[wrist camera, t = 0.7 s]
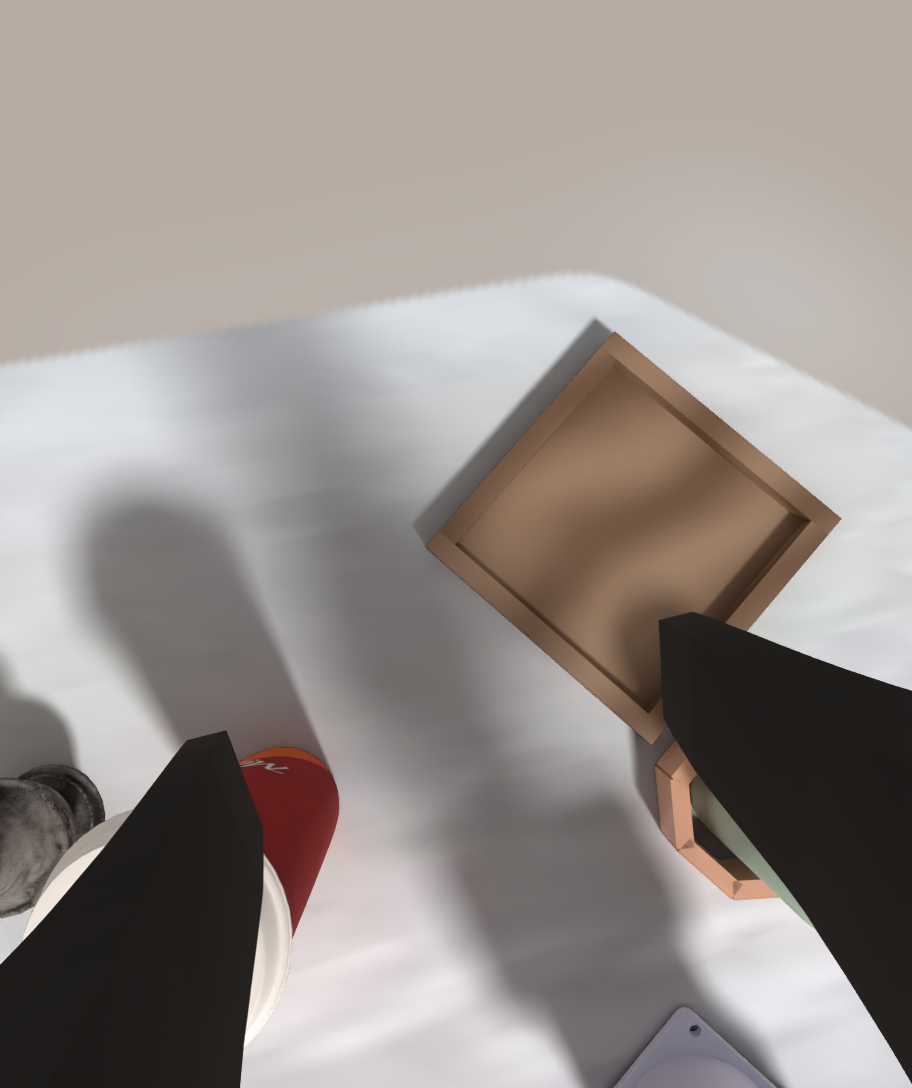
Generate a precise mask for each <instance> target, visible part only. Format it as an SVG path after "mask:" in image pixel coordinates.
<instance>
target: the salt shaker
mask: <svg viewBox="0 0 912 1088" xmlns="http://www.w3.org/2000/svg"><path fill="white" fill-rule="evenodd" d="M104 821H105V811H104V806H103V801H102V798H101V796H100V794H99V792H98V790H97V788H96V787H95V786H94V784H93V783H92V782H91V781H90V780H89V779H88V777H86V776H85V775H83V774H82V773H80V772H79V771H77V770H76V769H73V768H69V767H66V766H63V765H46V766H42V767H38V768H34V769H32V770H30V771H28V772H27V773H25V774H23V775H21V776H20V777H19V778H18V779H16V778H0V918H6V917H10V916H14V915H18V914H21V913H23V912H25V911H27V910H28V909H30V908H32V907H34V906H35V905H36V903H37V901H38V899H39V897H40V895H41V893H42V890H43V888H44V886H45V884H46V882H47V880H48V878H49V876H50V874H51V873H52V871H53V869H54V868H55V866H56V865H57V864H58V862H59V861H60V860H61V858H62V857H63V855H64V854H65V853H66V852H67V851H68V850H69V849H70V848H71V847H72V846H73V845H74V844H75V843H76V842H77V841H78V840H79V839H80V838H81V837H82V836H83V835H85V834H86V833H88V832H89V831H90V830H92V829H93V828H94V827H96V826H97V825H99V824H101V823H102V822H104Z"/></svg>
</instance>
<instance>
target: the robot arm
mask: <svg viewBox="0 0 912 1088" xmlns="http://www.w3.org/2000/svg"><path fill="white" fill-rule="evenodd" d="M659 641H660V661H661V682H662V702H663V718H664V720H665V722H666V724H667V725H668V727H669V729H670V731H671V732H672V734H673V736H674V738H675V739H676V741H677V743H678V745H679V746H680V748H681V749H682V751H683V753H684V754H685V756H686V758H687V759H688V761H689V762H690V764H691V766H692V767H693V769H694V770H695V772H696V773H697V774H698V775H699V777H700V778H701V779H702V781H703V782H704V783H705V785H706V786H707V787H708V788H709V790H710V791H711V792H712V794H713V795H714V796H715V797H716V799H717V800H718V801H719V803H720V804H721V805H722V806H723V808H724V809H725V810H726V812H727V813H728V814H729V815H730V817H731V818H732V819H733V820H734V822H735V823H736V824H737V825H738V827H739V828H740V829H741V830H742V832H743V833H744V834H745V835H746V837H747V838H748V839H749V840H750V842H751V843H752V844H753V846H754V847H755V848H756V849H757V851H758V852H759V853H760V854H761V856H762V857H763V858H764V859H765V861H766V862H767V863H768V864H769V866H770V867H771V868H772V870H773V871H774V872H775V873H776V875H777V876H778V877H779V878H780V880H781V881H782V882H783V883H784V885H785V886H786V888H787V889H788V890H789V892H790V893H791V894H792V896H793V897H794V898H795V900H796V901H797V903H798V904H799V905H800V907H801V908H802V909H803V911H804V912H805V914H806V915H807V917H808V918H809V920H810V921H811V923H812V924H813V926H814V928H815V929H816V931H817V932H818V934H819V935H820V937H821V938H822V940H823V941H824V943H825V944H826V946H827V947H828V949H829V951H830V952H831V954H832V955H833V957H834V958H835V960H836V961H837V963H838V964H839V966H840V967H841V969H842V971H843V972H844V974H845V975H846V977H847V978H848V980H849V982H850V983H851V985H852V986H853V988H854V990H855V991H856V993H857V994H858V996H859V998H860V999H861V1001H862V1002H863V1004H864V1006H865V1007H866V1009H867V1011H868V1012H869V1014H870V1015H871V1017H872V1019H873V1020H874V1022H875V1023H876V1025H877V1027H878V1028H879V1030H880V1031H881V1033H882V1035H883V1036H884V1038H885V1039H886V1041H887V1043H888V1044H889V1046H890V1048H891V1049H892V1051H893V1053H894V1054H895V1056H896V1058H897V1059H898V1061H899V1063H900V1064H901V1066H902V1068H903V1070H904V1071H905V1073H906V1075H907V1076H908V1078H909V1080H910V1081H911V1083H912V691H911V690H908V689H905V688H901V687H898V686H895V685H891V684H888V683H885V682H882V681H879V680H876V679H873V678H870V677H867V676H864V675H861V674H858V673H855V672H852V671H849V670H846V669H844V668H841V667H838V666H835V665H832V664H830V663H827V662H824V661H821V660H819V659H816V658H813V657H811V656H808V655H805V654H803V653H800V652H797V651H795V650H792V649H790V648H787V647H785V646H782V645H779V644H777V643H774V642H772V641H769V640H767V639H764V638H762V637H759V636H757V635H754V634H752V633H749V632H747V631H744V630H742V629H739V628H737V627H734V626H731V625H729V624H726V623H724V622H721V621H719V620H716V619H713V618H710V617H708V616H705V615H702V614H699V613H695V612H689V613H685V614H681V615H677V616H673V617H669V618H665V619H661V620H659ZM263 879H264V837H263V825H262V822H261V820H260V817H259V815H258V812H257V809H256V807H255V804H254V801H253V799H252V796H251V794H250V791H249V788H248V786H247V783H246V781H245V778H244V775H243V773H242V770H241V767H240V765H239V762H238V760H237V757H236V754H235V752H234V749H233V747H232V744H231V741H230V739H229V736H228V733H227V731H222V732H218V733H214V734H210V735H206V736H203V737H199V738H195V739H191V740H187V741H186V742H185V743H184V745H183V746H182V747H181V748H180V749H179V751H178V752H177V753H176V754H175V756H174V757H173V758H172V760H171V761H170V762H169V764H168V765H167V766H166V768H165V769H164V770H163V772H162V773H161V774H160V775H159V777H158V778H157V779H156V781H155V782H154V783H153V785H152V786H151V787H150V789H149V790H148V791H147V793H146V794H145V795H144V797H143V798H142V799H141V801H140V802H139V803H138V805H137V806H136V807H135V808H134V810H133V811H132V812H131V814H130V815H129V816H128V817H127V819H126V820H125V821H124V823H123V824H122V825H121V826H120V828H119V829H118V830H117V832H116V833H115V834H114V835H113V837H112V838H111V839H110V841H109V842H108V843H107V844H106V846H105V847H104V848H103V849H102V850H101V852H100V853H99V854H98V855H97V856H96V858H95V859H94V860H93V861H92V862H91V864H90V865H89V866H88V867H87V868H86V869H85V871H84V872H83V873H82V874H81V875H80V877H79V878H78V879H77V880H76V881H75V882H74V884H73V885H72V886H71V887H70V888H69V890H68V891H67V892H66V893H65V894H64V895H63V897H62V898H61V899H60V900H59V901H58V903H57V904H56V905H55V906H54V907H53V909H52V910H51V911H50V912H49V913H48V914H47V915H46V916H45V918H44V919H43V920H42V921H41V922H40V923H39V924H38V925H37V926H36V928H35V929H34V930H33V931H32V932H31V933H30V934H29V935H28V936H27V937H26V938H25V939H24V940H23V942H22V943H21V944H20V945H19V946H18V947H17V948H16V949H15V950H14V951H13V952H12V953H11V954H10V955H9V956H8V957H7V958H6V959H5V960H4V961H3V962H2V963H1V964H0V1088H240V1081H241V1070H242V1059H243V1049H244V1041H245V1033H246V1025H247V1018H248V1010H249V1002H250V994H251V987H252V979H253V971H254V964H255V956H256V948H257V940H258V932H259V924H260V916H261V907H262V898H263ZM693 1025H698V1028H697V1030H696V1031H690V1028H691V1026H693ZM614 1088H777V1087H776V1086H775V1085H774V1084H772V1083H771V1082H770V1081H769V1080H768V1079H767V1078H766V1077H765V1076H764V1075H763V1074H761V1073H760V1072H759V1071H758V1070H757V1069H756V1068H755V1067H754V1066H753V1065H752V1064H750V1063H749V1062H748V1061H747V1060H746V1059H745V1058H744V1057H743V1056H742V1055H741V1054H739V1053H738V1052H737V1051H736V1050H735V1049H734V1048H733V1047H732V1046H731V1045H730V1044H728V1043H727V1042H726V1041H725V1040H724V1039H723V1038H722V1037H721V1036H720V1035H719V1034H717V1033H716V1032H715V1031H714V1030H713V1029H712V1028H711V1027H710V1026H709V1025H707V1024H706V1023H705V1022H704V1021H703V1020H702V1019H701V1018H700V1017H699V1016H698V1015H696V1014H695V1013H694V1012H693V1011H692V1010H691V1009H689V1008H686V1007H682V1008H679V1009H678V1010H677V1011H676V1012H675V1013H674V1014H673V1015H672V1017H671V1018H670V1019H669V1020H668V1021H667V1023H666V1024H665V1025H664V1026H663V1028H662V1029H661V1030H660V1031H659V1033H658V1034H657V1035H656V1036H655V1037H654V1039H653V1040H652V1041H651V1042H650V1044H649V1045H648V1046H647V1047H646V1048H645V1050H644V1051H643V1052H642V1053H641V1055H640V1056H639V1057H638V1058H637V1059H636V1061H635V1062H634V1063H633V1064H632V1066H631V1067H630V1068H629V1069H628V1070H627V1072H626V1073H625V1074H624V1075H623V1077H622V1078H621V1079H620V1080H619V1082H618V1083H617V1084H616V1085H615V1086H614Z"/></svg>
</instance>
